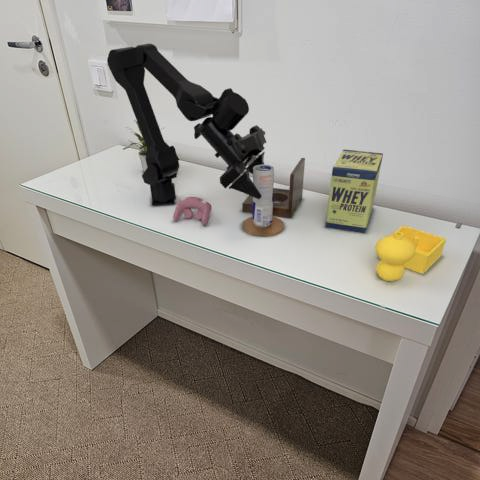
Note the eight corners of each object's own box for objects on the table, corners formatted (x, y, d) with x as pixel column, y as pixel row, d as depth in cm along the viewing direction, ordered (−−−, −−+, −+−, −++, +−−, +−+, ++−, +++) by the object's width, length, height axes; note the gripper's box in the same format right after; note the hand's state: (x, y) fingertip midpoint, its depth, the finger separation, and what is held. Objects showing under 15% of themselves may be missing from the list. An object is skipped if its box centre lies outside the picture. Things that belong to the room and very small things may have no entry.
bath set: (399, 242, 107) (409, 200, 100) (440, 256, 102) (454, 213, 95) (357, 276, 95) (365, 232, 89) (402, 294, 90) (414, 248, 83)
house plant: (119, 170, 148) (109, 119, 138) (153, 160, 156) (146, 111, 145) (142, 181, 140) (134, 128, 130) (177, 170, 147) (171, 119, 137)
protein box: (324, 227, 114) (331, 168, 104) (335, 203, 125) (343, 148, 115) (365, 233, 111) (376, 173, 101) (373, 208, 122) (383, 152, 112)
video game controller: (211, 226, 119) (214, 199, 117) (205, 226, 114) (208, 198, 113) (178, 221, 121) (181, 195, 120) (171, 220, 117) (173, 194, 115)
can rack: (242, 211, 122) (242, 203, 120) (256, 193, 131) (256, 185, 130) (291, 218, 118) (292, 209, 117) (302, 199, 128) (302, 191, 126)
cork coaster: (245, 238, 110) (245, 236, 110) (239, 218, 118) (239, 216, 118) (288, 234, 111) (288, 232, 111) (279, 215, 119) (279, 213, 119)
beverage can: (272, 220, 116) (274, 163, 107) (271, 229, 112) (273, 171, 103) (253, 219, 117) (253, 163, 107) (252, 228, 113) (252, 170, 103)
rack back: (287, 217, 118) (290, 174, 111) (298, 198, 128) (301, 157, 120) (291, 218, 118) (294, 174, 111) (301, 199, 128) (305, 157, 120)
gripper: (231, 128, 92) (279, 185, 97) (257, 107, 106) (298, 157, 110) (199, 161, 99) (245, 213, 104) (227, 137, 113) (267, 184, 117)
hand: (265, 190), depth 108 cm, fingers open, 9 cm apart
